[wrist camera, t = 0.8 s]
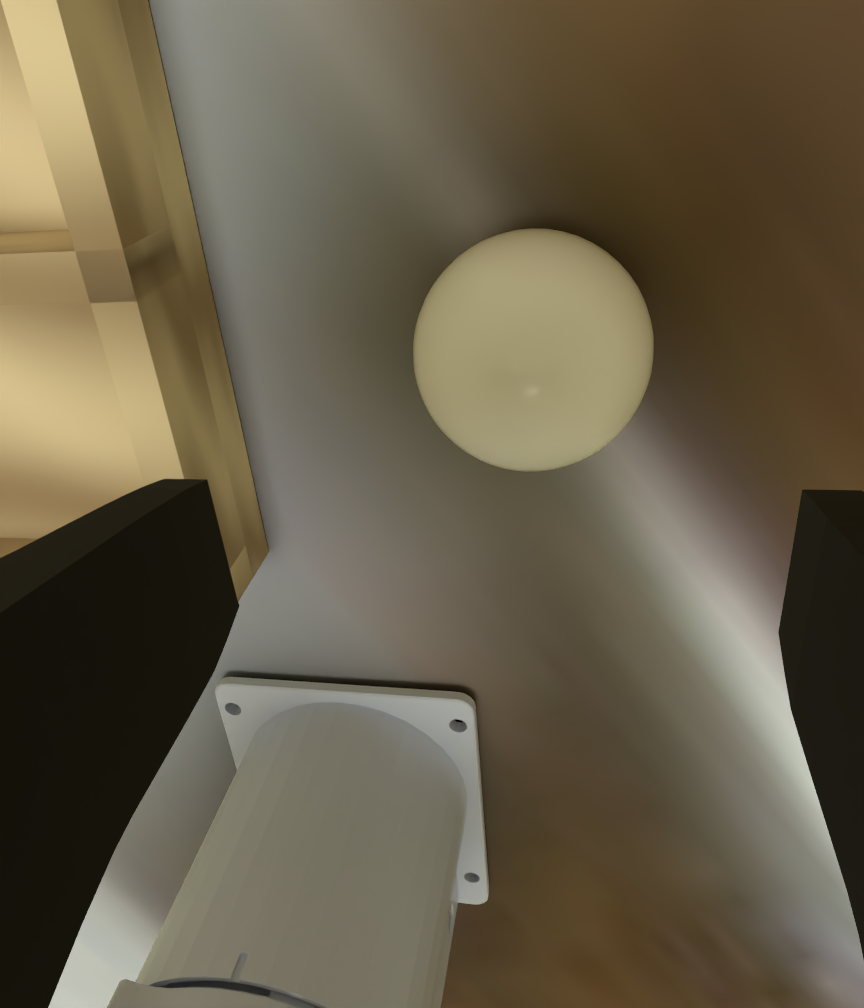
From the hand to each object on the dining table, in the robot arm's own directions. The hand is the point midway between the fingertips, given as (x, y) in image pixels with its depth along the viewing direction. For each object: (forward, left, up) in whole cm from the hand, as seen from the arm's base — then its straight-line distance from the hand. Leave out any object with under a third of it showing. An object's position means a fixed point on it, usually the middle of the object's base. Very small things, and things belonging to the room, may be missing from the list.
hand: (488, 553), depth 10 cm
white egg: (0, 0, -9) cm, 9 cm away
